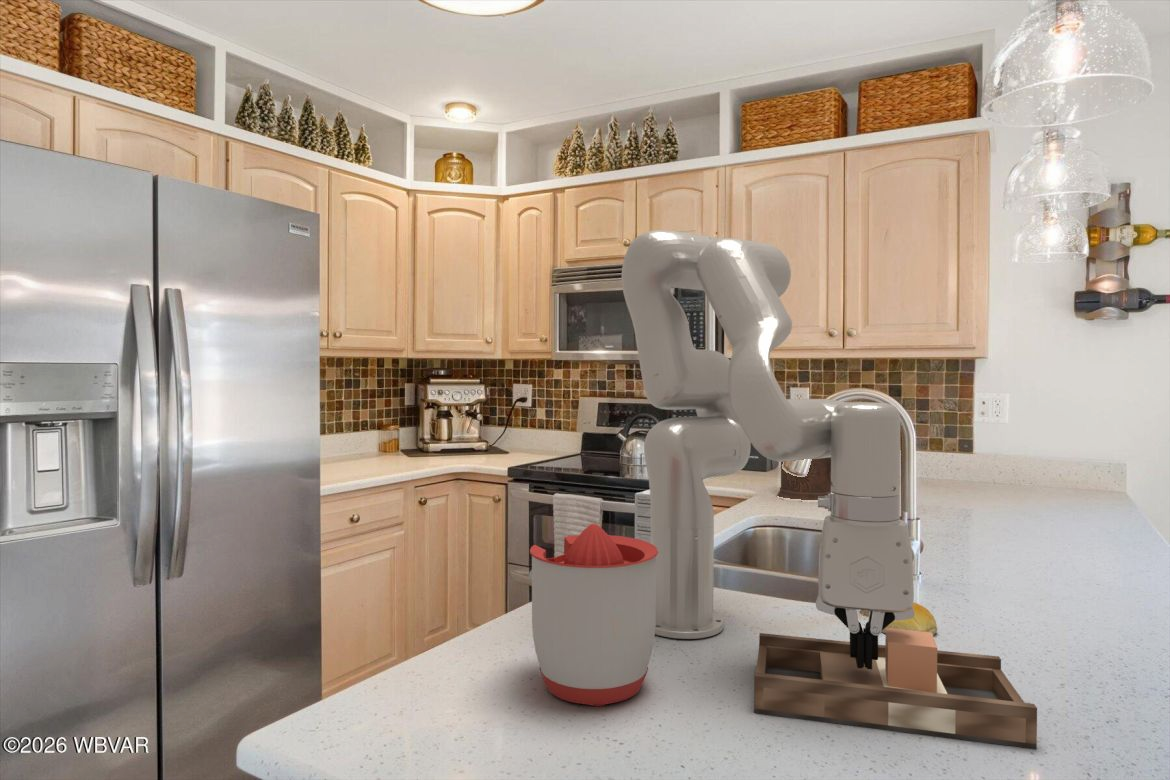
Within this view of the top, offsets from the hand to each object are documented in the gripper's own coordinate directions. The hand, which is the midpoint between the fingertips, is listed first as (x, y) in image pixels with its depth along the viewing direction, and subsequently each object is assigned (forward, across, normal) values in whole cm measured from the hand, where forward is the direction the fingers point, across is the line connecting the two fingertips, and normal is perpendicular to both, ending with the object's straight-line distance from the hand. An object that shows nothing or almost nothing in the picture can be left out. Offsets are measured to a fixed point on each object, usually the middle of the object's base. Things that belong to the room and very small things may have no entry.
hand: (863, 664), depth 84 cm
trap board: (+4, +2, 0) cm, 5 cm away
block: (+1, +5, 0) cm, 5 cm away
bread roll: (+5, +8, +27) cm, 29 cm away
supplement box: (+4, -30, +41) cm, 51 cm away
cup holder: (+4, -2, +144) cm, 144 cm away
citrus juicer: (+4, -32, -5) cm, 33 cm away
